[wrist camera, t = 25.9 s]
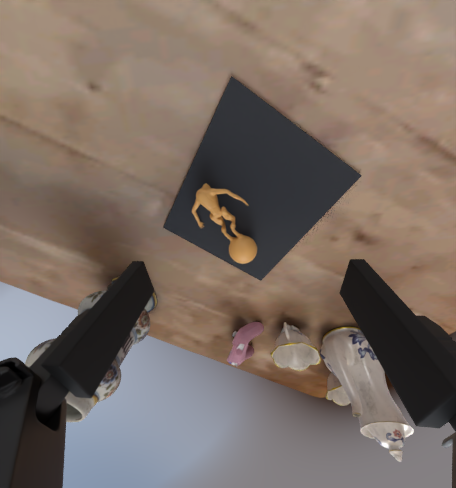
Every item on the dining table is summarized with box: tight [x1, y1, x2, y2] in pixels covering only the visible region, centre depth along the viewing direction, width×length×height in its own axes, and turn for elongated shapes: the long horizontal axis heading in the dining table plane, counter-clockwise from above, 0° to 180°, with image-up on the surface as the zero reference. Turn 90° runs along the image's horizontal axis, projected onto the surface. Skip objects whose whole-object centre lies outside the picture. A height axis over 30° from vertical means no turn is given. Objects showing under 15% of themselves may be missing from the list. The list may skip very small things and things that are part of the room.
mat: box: [163, 76, 361, 280], centre depth 25 cm, size 18×20×1 cm
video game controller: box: [227, 322, 264, 367], centre depth 37 cm, size 10×5×7 cm, turn 171°
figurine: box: [192, 183, 257, 264], centre depth 25 cm, size 8×6×12 cm
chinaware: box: [270, 322, 414, 462], centre depth 32 cm, size 28×17×17 cm, turn 53°
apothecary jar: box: [25, 277, 157, 422], centre depth 29 cm, size 12×12×18 cm
